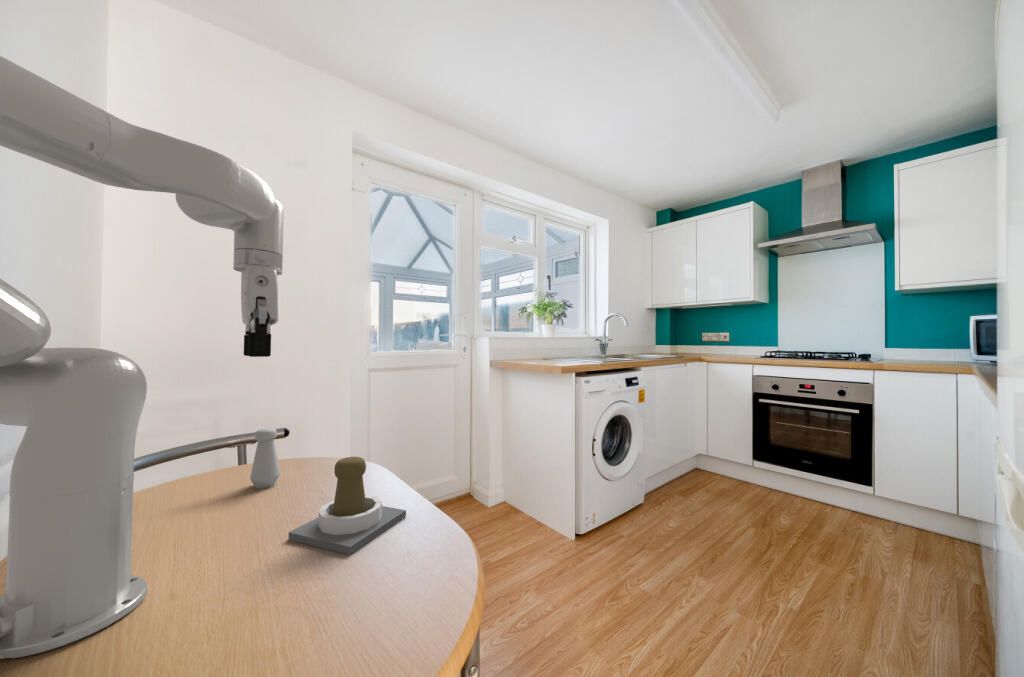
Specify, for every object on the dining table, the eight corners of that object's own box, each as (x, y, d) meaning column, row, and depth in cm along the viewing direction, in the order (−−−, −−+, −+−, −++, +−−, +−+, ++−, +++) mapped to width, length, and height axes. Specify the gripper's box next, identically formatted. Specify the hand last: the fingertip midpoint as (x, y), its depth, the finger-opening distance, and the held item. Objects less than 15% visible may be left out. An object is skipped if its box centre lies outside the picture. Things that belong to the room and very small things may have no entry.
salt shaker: (284, 484, 87) (285, 428, 88) (257, 491, 82) (258, 432, 83) (272, 479, 90) (273, 425, 91) (245, 486, 85) (246, 429, 86)
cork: (356, 510, 70) (357, 451, 71) (374, 519, 67) (375, 457, 67) (324, 522, 65) (325, 459, 66) (341, 532, 62) (343, 465, 62)
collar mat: (350, 554, 57) (350, 530, 57) (288, 539, 62) (288, 517, 62) (405, 516, 70) (406, 496, 70) (351, 506, 75) (352, 487, 75)
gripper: (290, 258, 65) (288, 356, 64) (275, 273, 78) (273, 355, 78) (236, 251, 60) (234, 357, 60) (230, 268, 73) (228, 355, 73)
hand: (256, 356), depth 69 cm, fingers open, 9 cm apart
